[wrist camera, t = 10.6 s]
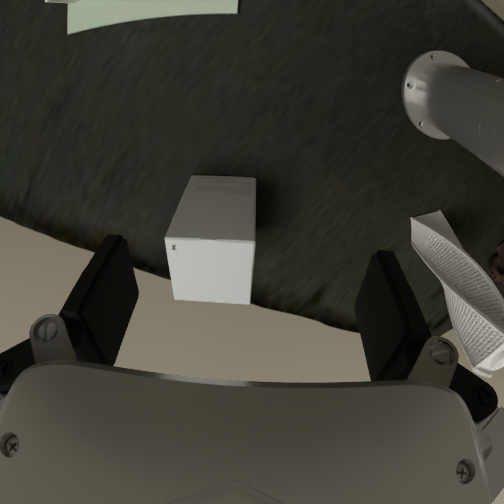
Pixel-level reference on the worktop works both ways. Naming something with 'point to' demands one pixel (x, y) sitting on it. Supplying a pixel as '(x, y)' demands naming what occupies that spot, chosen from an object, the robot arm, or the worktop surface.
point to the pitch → (137, 10)
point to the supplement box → (213, 240)
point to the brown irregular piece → (498, 265)
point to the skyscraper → (463, 292)
